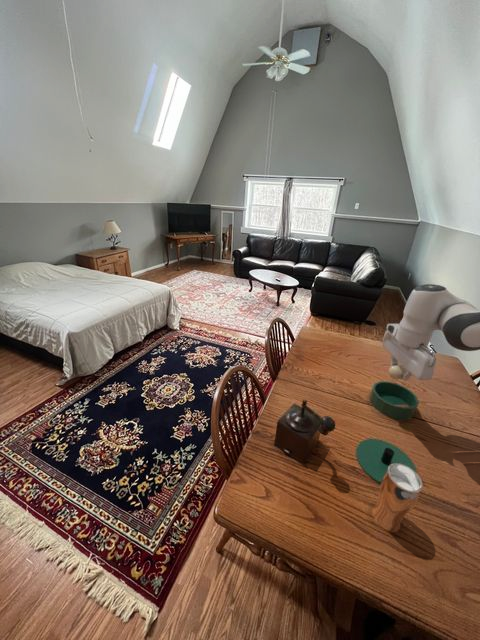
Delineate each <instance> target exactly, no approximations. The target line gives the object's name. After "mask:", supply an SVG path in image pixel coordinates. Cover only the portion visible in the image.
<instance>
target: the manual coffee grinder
mask: <svg viewBox="0 0 480 640" xmlns="http://www.w3.org/2000/svg"><path fill="white" fill-rule="evenodd" d="M307 404H308V400H307V399H302V403H301V404H300V405H301V406H300V405H299V404H297V403H293V404H292V405H291V406H290V407H289V408H288V409H287V410H286V411H285V412H284V413H283V414H282V415H281V416H280V418H279V419H277V422H276V430H275V435H274V442H273V445H274V446H276V447H277V448H278V449H280V450H281V451H283V452H284V453H285V454H286V455H288V456H290V457H292V458H294V459H295V460H296V461H299V462H301V463H303V464H305V463H306V462H307V461H308V460H309V458H310V457H311V455H312V454H313V453H314V451H315V449H316V448H317V446H318V444H319V441H320V437H321V435H323V436H325V437H326V436H328V435H329V433H331V432H333V431H335V429H336V421H335V419H333V417H331V416H329V415H325V416H323V417H322V416H321V415H319V414H318V413H317V412H315V411H314V410H313V409H312V408H310V407H309V406H308V405H307Z"/></svg>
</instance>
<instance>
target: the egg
mask: <svg viewBox="0 0 480 640" xmlns="http://www.w3.org/2000/svg"><path fill="white" fill-rule="evenodd" d="M402 373H404V374H405V373H406V368H405V367H404V366H403V365H402V364H401V365H399V364H398V365H395V366H392V367H390V366H389V369H388V375H389V377H390V378H392V379H393V380H403V379H402V378H401V375H402ZM411 377H412V376H410V378H411Z"/></svg>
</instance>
